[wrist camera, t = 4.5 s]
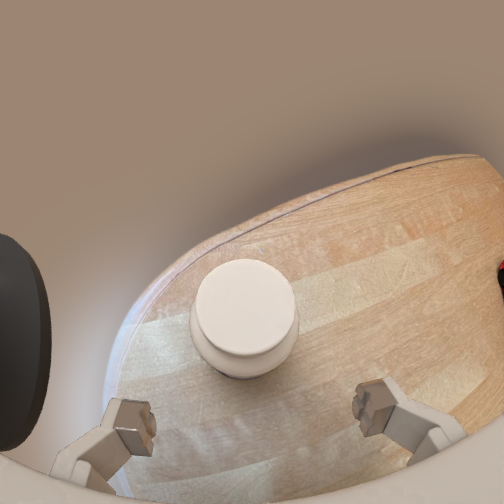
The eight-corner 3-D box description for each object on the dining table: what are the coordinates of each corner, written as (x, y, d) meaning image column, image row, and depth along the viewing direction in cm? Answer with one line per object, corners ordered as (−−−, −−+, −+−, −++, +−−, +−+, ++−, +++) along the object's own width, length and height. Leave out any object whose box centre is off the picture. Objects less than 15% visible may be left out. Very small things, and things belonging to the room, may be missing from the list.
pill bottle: (199, 314, 20) (171, 251, 12) (271, 302, 21) (295, 233, 12) (211, 386, 18) (186, 383, 9) (287, 372, 19) (329, 355, 10)
